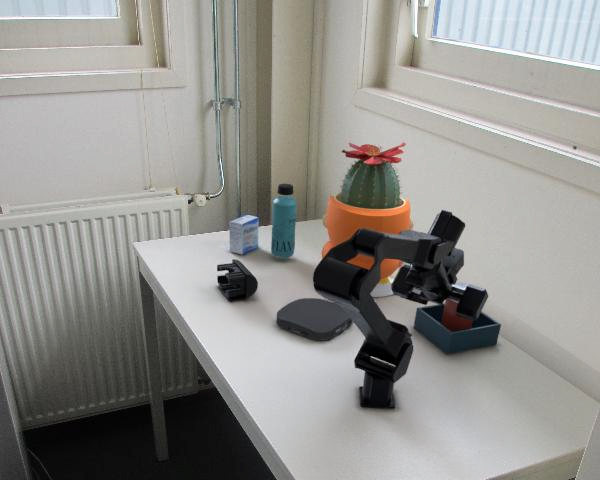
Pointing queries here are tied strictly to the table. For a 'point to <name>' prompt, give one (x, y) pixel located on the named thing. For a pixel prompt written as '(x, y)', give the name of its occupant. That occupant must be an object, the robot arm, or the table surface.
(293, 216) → the beverage bottle
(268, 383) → the table surface
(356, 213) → the potted cactus
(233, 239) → the medicine box
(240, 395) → the table surface
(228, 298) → the end cap
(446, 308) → the tin can
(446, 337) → the tote
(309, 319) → the media streaming box
